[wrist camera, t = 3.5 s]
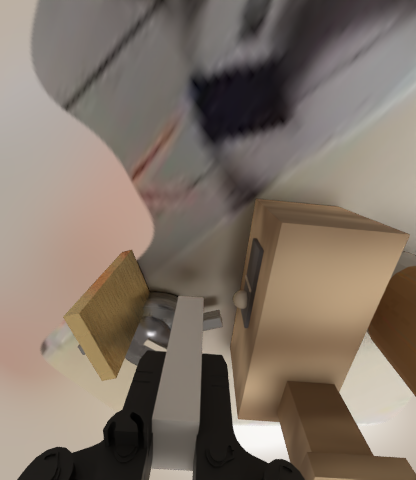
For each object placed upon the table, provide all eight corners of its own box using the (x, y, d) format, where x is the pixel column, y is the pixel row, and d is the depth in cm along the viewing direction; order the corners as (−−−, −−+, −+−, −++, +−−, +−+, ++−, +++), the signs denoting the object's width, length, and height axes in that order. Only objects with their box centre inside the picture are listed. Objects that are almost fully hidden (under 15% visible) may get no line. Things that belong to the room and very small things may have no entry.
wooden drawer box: (240, 197, 16) (298, 273, 5) (341, 206, 16) (576, 297, 6) (218, 346, 21) (227, 530, 10) (295, 352, 21) (376, 538, 11)
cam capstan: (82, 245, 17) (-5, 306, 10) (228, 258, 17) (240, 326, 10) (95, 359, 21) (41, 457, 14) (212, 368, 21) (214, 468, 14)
